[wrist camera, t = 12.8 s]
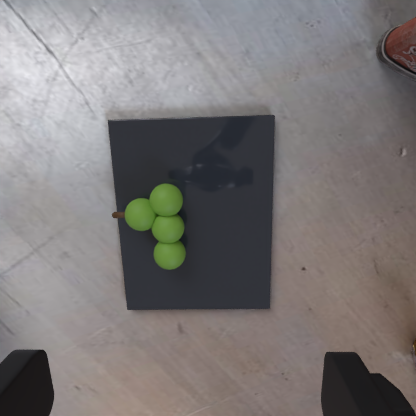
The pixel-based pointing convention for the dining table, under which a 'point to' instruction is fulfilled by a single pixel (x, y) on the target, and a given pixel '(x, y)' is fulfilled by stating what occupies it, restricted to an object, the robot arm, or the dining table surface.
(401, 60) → the lighter
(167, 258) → the grapes
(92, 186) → the dining table surface
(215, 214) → the slate board
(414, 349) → the ring
